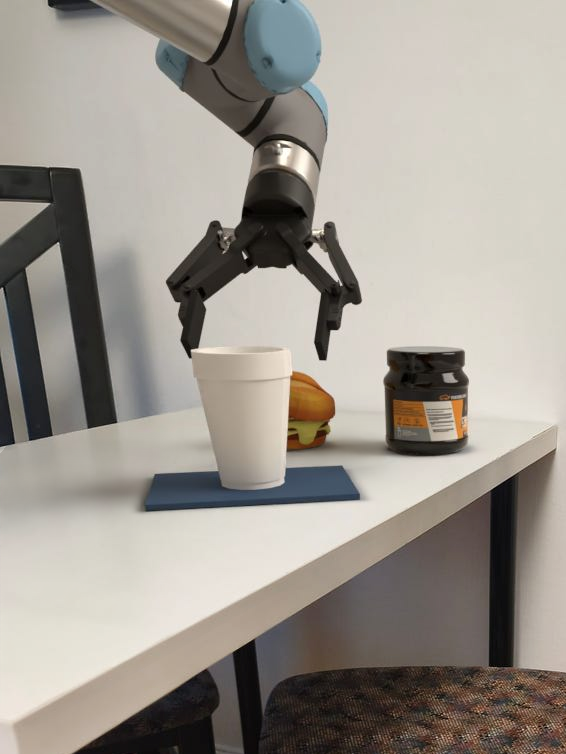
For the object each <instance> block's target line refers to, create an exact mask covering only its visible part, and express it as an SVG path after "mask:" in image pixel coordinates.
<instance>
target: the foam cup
mask: <svg viewBox="0 0 566 754" xmlns="http://www.w3.org/2000/svg"><path fill="white" fill-rule="evenodd" d="M191 356H192V359H191V365H192V372H193V373H192V374H193V378H195V379H196V382H197V386H198V390H199V395H200V400H201V403H202V408H203V412H204V417H205V420H206V425H207V429H208V433H209V438H210V441H211V445H212V450H213V455H214V459H215V462H216V467H217V471H219V475H220V480H221V483H222V486H223V487H226V488H229V489H237V490H258V489H267V488H272V487H276V486H280V485H282V484H283V483H285V482H284V477H285V468H287V464H286V463H287V430H288V411H289V392H290V376H291V375H292V371H293V365H292V350H291V348H288V347H281V346H271V345H269V346H267V345H266V346H265V345H229V346H209V347H208V346H207V347H199V348H198V349H193V350H191Z"/></svg>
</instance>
